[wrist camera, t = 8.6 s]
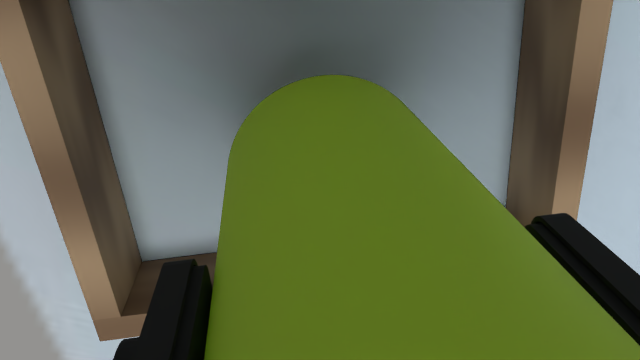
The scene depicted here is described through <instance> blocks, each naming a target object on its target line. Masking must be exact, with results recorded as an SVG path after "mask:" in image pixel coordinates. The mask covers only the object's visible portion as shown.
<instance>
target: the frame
mask: <svg viewBox="0 0 640 360" xmlns="http://www.w3.org/2000/svg"><path fill="white" fill-rule="evenodd" d="M612 5H613V0H525V11H524V21H523V32H522V43H521V53H520V64H519V74H518V85H517V96H516V106H515V117H514V128H513V138H512V149H511V159H510V170H509V181H508V191H507V202H506V209H507V210H508V211H509V212H510V213H511V214H512V215H513V216H514V217H515V218H516V219H517V220H518V221H519V222H520V224H521V225H522V226H523V227H524V228H525V226H526V225H529V224H531V221H532V220H533V218H534V217H536V216H541V215H549V214H557V213H567V214H569V215H570V216H571V217H573V218H574V219H575V220H576V221H577V215H578V209H579V203H580V197H581V191H582V185H583V179H584V173H585V167H586V161H587V155H588V149H589V143H590V137H591V131H592V125H593V119H594V113H595V107H596V101H597V95H598V89H599V83H600V77H601V71H602V65H603V59H604V53H605V47H606V41H607V35H608V29H609V23H610V17H611V11H612ZM0 61H1V64H2V67H3V70H4V73H5V76H6V78H7V81H8V84H9V87H10V90H11V92H12V95H13V98H14V101H15V104H16V106H17V109H18V112H19V115H20V118H21V120H22V123H23V126H24V129H25V132H26V135H27V137H28V140H29V143H30V146H31V149H32V151H33V154H34V157H35V160H36V163H37V165H38V168H39V171H40V174H41V177H42V179H43V182H44V185H45V188H46V191H47V193H48V196H49V199H50V202H51V205H52V208H53V210H54V213H55V216H56V219H57V222H58V224H59V227H60V230H61V233H62V236H63V238H64V241H65V244H66V247H67V250H68V252H69V255H70V258H71V261H72V264H73V266H74V269H75V272H76V275H77V278H78V281H79V283H80V286H81V289H82V292H83V295H84V297H85V300H86V303H87V306H88V309H89V311H90V314H91V317H92V320H93V323H94V325H95V328H96V331H97V334H98V337H99V340H100V341H106V340H114V339H122V338H129V337H137V336H140V333H141V330H142V327H143V324H144V321H145V318H146V315H147V311H148V308H149V305H150V302H151V299H152V296H153V293H154V290H155V287H156V284H157V280H158V277H159V274H160V271H161V268H162V265H163V263H165V262H170V261H178V260H186V259H195V260H196V262H197V265H198V266H200V265H207V267H208V270H209V274H210V279H211V283H212V288H213V282H214V274H215V266H216V258H217V253H209V254H201V255H193V256H185V257H177V258H169V259H161V260H153V261H144V262H142V261H141V257H140V253H139V250H138V246H137V243H136V239H135V236H134V232H133V229H132V225H131V222H130V218H129V215H128V211H127V207H126V204H125V200H124V197H123V193H122V190H121V186H120V183H119V179H118V176H117V172H116V169H115V165H114V161H113V158H112V154H111V151H110V147H109V144H108V140H107V137H106V133H105V130H104V126H103V122H102V119H101V115H100V112H99V108H98V105H97V101H96V98H95V94H94V91H93V87H92V84H91V80H90V76H89V73H88V69H87V66H86V62H85V59H84V55H83V52H82V48H81V45H80V41H79V38H78V34H77V30H76V27H75V23H74V20H73V16H72V13H71V9H70V6H69V2H68V0H0Z"/></svg>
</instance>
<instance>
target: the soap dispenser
mask: <svg viewBox="0 0 640 360" xmlns="http://www.w3.org/2000/svg"><path fill="white" fill-rule="evenodd" d="M204 360H640V346H639V345H638V344H637V343H636V342H635V340H634V339H633V338H632V337H631V336H630V335H629V334H628V333H627V332H626V331H625V330H624V329H623V328H622V327H621V326H620V325H619V324H618V323H617V322H616V321H615V320H614V319H613V318H612V317H611V316H610V315H609V314H608V313H607V312H606V311H605V310H604V309H603V308H602V307H601V306H600V305H599V304H598V303H597V301H596V300H595V299H594V298H593V297H592V296H591V295H590V294H589V293H588V292H587V291H586V290H585V289H584V288H583V287H582V286H581V285H580V284H579V283H578V282H577V281H576V280H575V279H574V278H573V277H572V276H571V275H570V274H569V273H568V272H567V271H566V270H565V269H564V268H563V267H562V266H561V265H560V264H559V262H558V261H557V260H556V259H555V258H554V257H553V256H552V255H551V254H550V253H549V252H548V251H547V250H546V249H545V248H544V247H543V246H542V245H541V244H540V243H539V242H538V241H537V240H536V239H535V238H534V237H533V236H532V235H531V234H530V233H529V232H528V231H527V230H526V229H525V228H524V227H523V226H522V225H521V224H520V222H519V221H518V220H517V219H516V218H515V217H514V216H513V215H512V214H511V213H510V212H509V211H508V210H507V209H506V208H505V207H504V206H503V205H502V204H501V203H500V202H499V201H498V200H497V199H496V198H495V197H494V196H493V195H492V194H491V193H490V192H489V191H488V190H487V189H486V188H485V187H484V186H483V185H482V183H481V182H480V181H479V180H478V179H477V178H476V177H475V176H474V175H473V174H472V173H471V172H470V171H469V170H468V169H467V168H466V167H465V166H464V165H463V164H462V163H461V162H460V161H459V160H458V159H457V158H456V157H455V156H454V155H453V154H452V153H451V152H450V151H449V150H448V149H447V148H446V147H445V146H444V145H443V143H442V142H441V141H440V140H439V139H438V138H437V137H436V136H435V135H434V134H433V133H432V132H431V131H430V130H429V129H428V128H427V127H426V126H425V125H424V124H423V123H422V122H421V121H420V120H419V119H418V118H417V117H416V116H415V115H414V114H413V113H412V112H411V111H410V110H409V109H408V108H407V107H406V106H405V104H404V103H403V102H402V101H400V100H399V99H398V98H397V97H396V96H395V95H393V94H392V93H391V92H389V91H388V90H386V89H384V88H383V87H381V86H379V85H377V84H375V83H372V82H370V81H367V80H364V79H360V78H357V77H352V76H345V75H322V76H315V77H310V78H305V79H302V80H299V81H296V82H293V83H291V84H288V85H286V86H284V87H282V88H280V89H279V90H277V91H275V92H274V93H272V94H271V95H269V96H268V97H266V98H265V99H264V100H263V101H262V102H260V103H259V104H258V105H257V106H256V107H255V108H254V109H253V110H252V111H251V113H250V114H249V115H248V116H247V118H246V119H245V120H244V122H243V123H242V125H241V127H240V128H239V130H238V132H237V134H236V136H235V139H234V141H233V144H232V147H231V151H230V155H229V160H228V168H227V176H226V184H225V193H224V201H223V209H222V217H221V225H220V233H219V241H218V250H217V258H216V266H215V274H214V282H213V290H212V299H211V307H210V315H209V323H208V331H207V339H206V348H205V356H204Z"/></svg>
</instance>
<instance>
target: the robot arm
mask: <svg viewBox="0 0 640 360" xmlns="http://www.w3.org/2000/svg"><path fill="white" fill-rule="evenodd" d="M525 229H526V230H527V231H528V232H529V233H530V234H531V235H532V236H533V237H534V238H535V239H536V240H537V241H538V242H539V243H540V244H541V245H542V246H543V247H544V248H545V249H546V250H547V251H548V252H549V253H550V254H551V255H552V256H553V257H554V258H555V259H556V260H557V261H558V262H559V264H560V265H561V266H562V267H563V268H564V269H565V270H566V271H567V272H568V273H569V274H570V275H571V276H572V277H573V278H574V279H575V280H576V281H577V282H578V283H579V284H580V285H581V286H582V287H583V288H584V289H585V290H586V291H587V292H588V293H589V294H590V295H591V296H592V297H593V298H594V299H595V300H596V301H597V303H598V304H599V305H600V306H601V307H602V308H603V309H604V310H605V311H606V312H607V313H608V314H609V315H610V316H611V317H612V318H613V319H614V320H615V321H616V322H617V323H618V324H619V325H620V326H621V327H622V328H623V329H624V330H625V331H626V332H627V333H628V334H629V335H630V336H631V337H632V338H633V339H634V340H635V342H636V343H637V344H638V345H639V346H640V275H639V274H638V273H636V272H635V271H634V270H633V269H632V268H631V267H629V266H628V265H627V264H626V263H625V262H624V261H622V260H621V259H620V258H619V257H618V256H617V255H615V254H614V253H613V252H612V251H611V250H610V249H608V248H607V247H606V246H605V245H604V244H603V243H602V242H600V241H599V240H598V239H597V238H596V237H595V236H593V235H592V234H591V233H590V232H589V231H588V230H586V229H585V228H584V227H583V226H582V225H581V224H579V223H578V222H577V221H576V220H575V219H574V218H573V217H571V216H570V215H569V214H567V213H557V214H549V215H541V216H536V217H534V218H533V220H532V221H531V224H529V225H526V226H525ZM212 290H213V288H212V283H211V279H210V274H209V270H208V267H207V265H200V266H198V265H197V262H196V260H195V259H186V260H178V261H170V262H165V263H163V265H162V268H161V271H160V274H159V277H158V280H157V284H156V287H155V290H154V293H153V296H152V299H151V302H150V305H149V308H148V311H147V315H146V318H145V321H144V324H143V327H142V330H141V333H140V336H139V337H137V338H130V339H124V340H123V341H121V342H120V344H119V346H118V348H117V350H116V353H115V356H114V358H113V360H204V356H205V348H206V339H207V331H208V323H209V315H210V307H211V299H212Z"/></svg>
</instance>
